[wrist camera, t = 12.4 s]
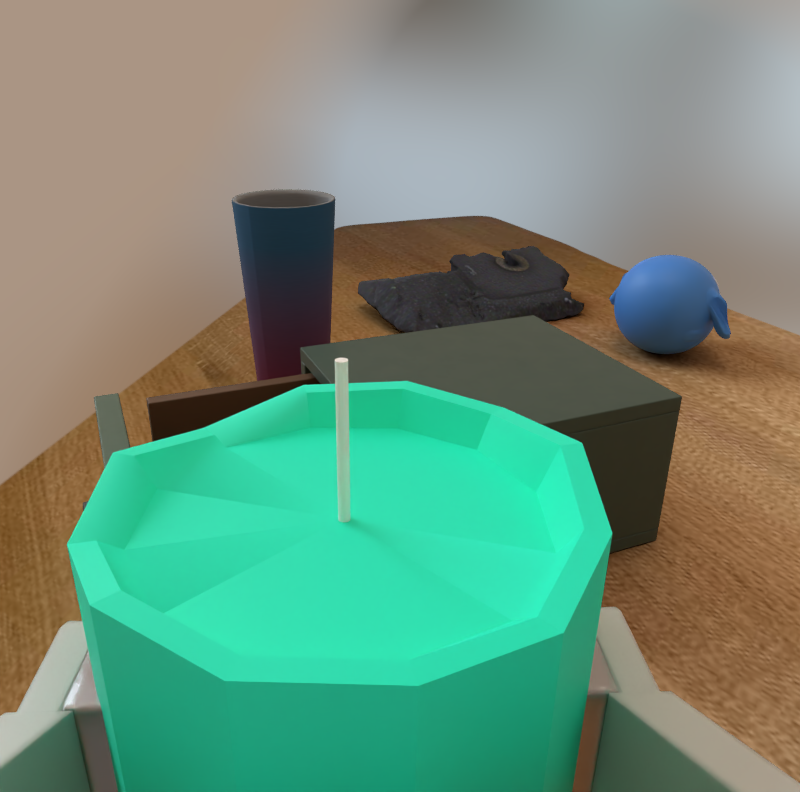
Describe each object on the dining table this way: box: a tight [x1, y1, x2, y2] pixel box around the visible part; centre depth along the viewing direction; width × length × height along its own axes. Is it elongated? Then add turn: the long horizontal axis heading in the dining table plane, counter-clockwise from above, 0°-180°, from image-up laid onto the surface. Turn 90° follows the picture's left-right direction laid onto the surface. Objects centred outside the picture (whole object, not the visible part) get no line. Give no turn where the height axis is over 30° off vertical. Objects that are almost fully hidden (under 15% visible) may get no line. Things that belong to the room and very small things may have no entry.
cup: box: [232, 189, 335, 381], centre depth 54 cm, size 7×7×15 cm
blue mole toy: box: [609, 255, 731, 354], centre depth 67 cm, size 12×12×8 cm
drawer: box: [83, 373, 320, 511], centre depth 38 cm, size 16×12×7 cm
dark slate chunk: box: [358, 246, 584, 333], centre depth 77 cm, size 15×22×5 cm
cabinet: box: [300, 315, 682, 553], centre depth 42 cm, size 16×14×9 cm
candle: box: [67, 358, 612, 792], centre depth 11 cm, size 6×6×12 cm
